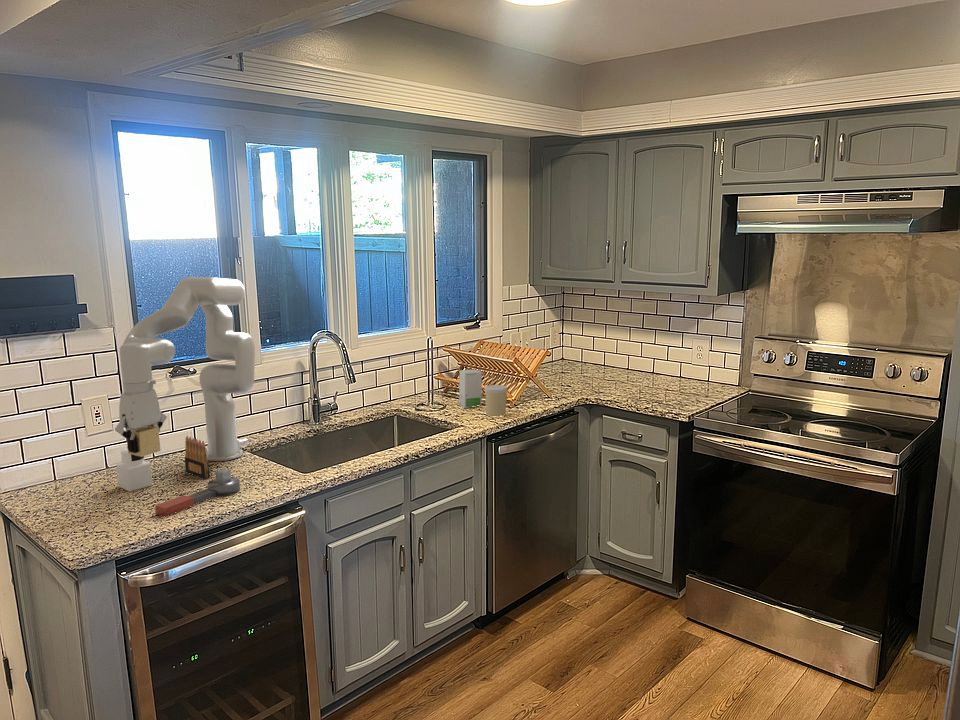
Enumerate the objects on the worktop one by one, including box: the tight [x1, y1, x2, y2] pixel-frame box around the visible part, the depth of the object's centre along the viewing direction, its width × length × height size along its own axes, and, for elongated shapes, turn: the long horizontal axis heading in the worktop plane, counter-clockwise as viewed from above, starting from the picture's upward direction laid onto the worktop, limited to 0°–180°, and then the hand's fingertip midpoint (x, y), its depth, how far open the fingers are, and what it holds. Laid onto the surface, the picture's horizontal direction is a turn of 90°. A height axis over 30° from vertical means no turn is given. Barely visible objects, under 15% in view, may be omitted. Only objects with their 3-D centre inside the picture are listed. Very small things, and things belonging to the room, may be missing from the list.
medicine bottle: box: [116, 447, 153, 492], centre depth 218 cm, size 7×7×12 cm
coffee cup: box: [484, 384, 508, 416], centre depth 297 cm, size 9×9×12 cm
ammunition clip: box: [184, 435, 211, 480], centre depth 227 cm, size 11×2×12 cm, turn 53°
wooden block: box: [126, 426, 161, 457], centre depth 205 cm, size 6×6×7 cm
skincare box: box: [458, 369, 483, 409], centre depth 312 cm, size 8×7×16 cm
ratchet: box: [154, 468, 241, 518], centre depth 208 cm, size 26×9×6 cm, turn 150°
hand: (143, 448), depth 205 cm, fingers closed on wooden block, 6 cm apart
